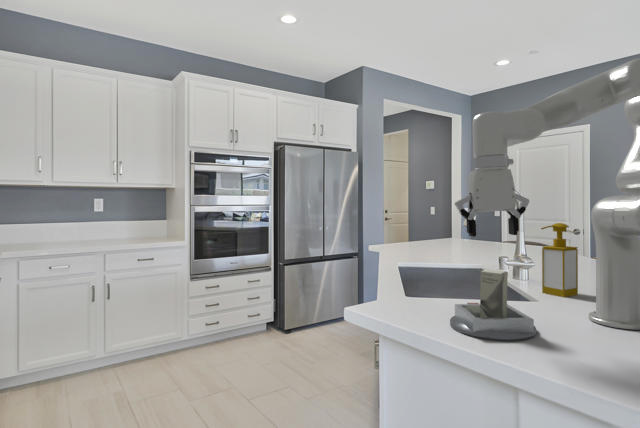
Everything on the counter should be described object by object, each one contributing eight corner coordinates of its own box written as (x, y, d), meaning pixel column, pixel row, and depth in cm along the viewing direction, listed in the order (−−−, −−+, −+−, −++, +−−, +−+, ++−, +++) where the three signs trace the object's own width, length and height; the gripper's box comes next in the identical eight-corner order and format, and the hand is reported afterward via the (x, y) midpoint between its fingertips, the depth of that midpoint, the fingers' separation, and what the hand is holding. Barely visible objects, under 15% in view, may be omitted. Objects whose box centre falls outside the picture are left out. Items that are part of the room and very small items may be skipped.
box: (479, 323, 93) (478, 270, 92) (486, 319, 96) (486, 268, 95) (501, 328, 89) (501, 273, 89) (508, 323, 92) (508, 270, 92)
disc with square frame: (507, 312, 105) (507, 298, 105) (553, 341, 82) (553, 323, 82) (437, 312, 106) (437, 298, 106) (464, 341, 83) (464, 323, 83)
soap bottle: (531, 294, 126) (531, 223, 125) (556, 290, 131) (555, 222, 130) (552, 299, 119) (552, 224, 119) (577, 294, 124) (577, 222, 124)
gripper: (519, 164, 95) (521, 233, 95) (449, 167, 96) (451, 235, 96) (535, 161, 88) (537, 235, 88) (459, 164, 88) (461, 238, 89)
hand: (492, 235), depth 92 cm, fingers open, 9 cm apart
